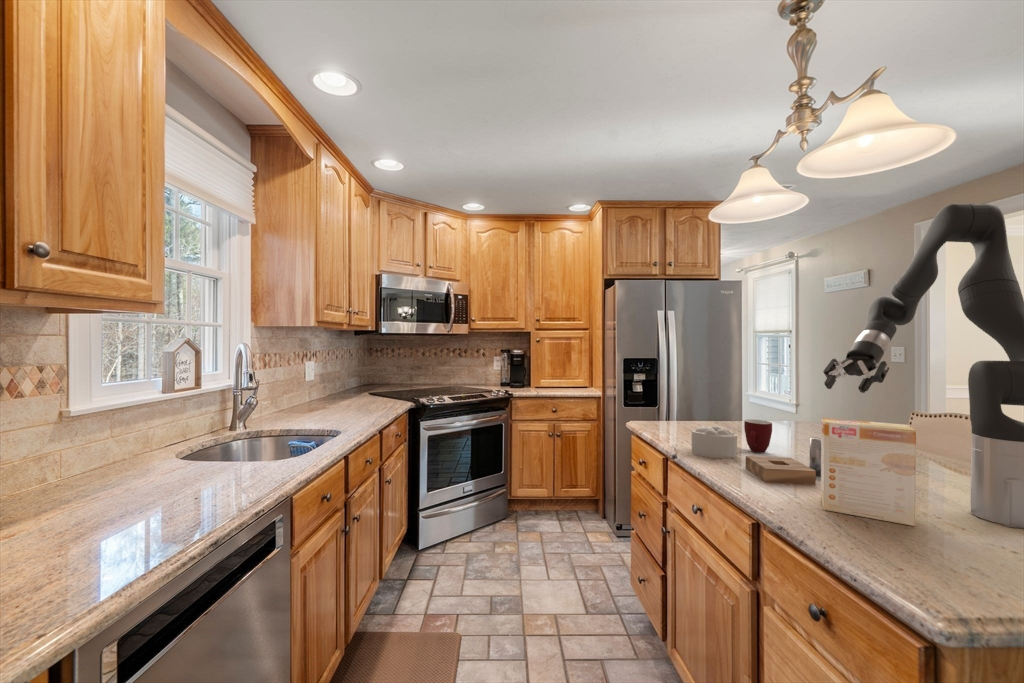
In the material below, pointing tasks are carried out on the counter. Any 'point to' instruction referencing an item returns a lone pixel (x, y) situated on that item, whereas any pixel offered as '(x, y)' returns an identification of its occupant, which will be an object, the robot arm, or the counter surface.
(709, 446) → the lumpy-topped squat cylinder
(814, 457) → the pin
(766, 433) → the mug
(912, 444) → the coffeecake box
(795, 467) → the hole block
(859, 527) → the counter surface
